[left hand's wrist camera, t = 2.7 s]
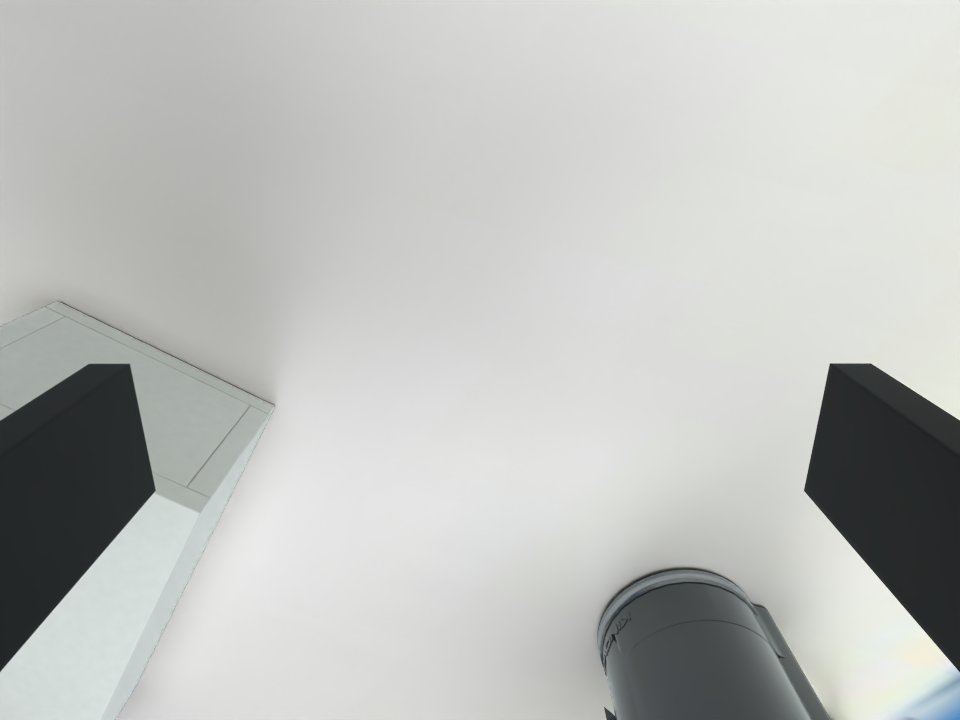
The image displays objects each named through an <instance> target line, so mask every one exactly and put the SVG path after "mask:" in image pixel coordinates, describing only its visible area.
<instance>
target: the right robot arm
mask: <svg viewBox="0 0 960 720" xmlns="http://www.w3.org/2000/svg"><path fill="white" fill-rule="evenodd" d="M598 647H599V652H600V656H601V661H602V664H603V667H604V670H605V674H606V676H607V680H608V684H609V688H610V693H611V697H612V703H613V707H614V712H615V716H616V717H615V716H614V715H613V714H612V713H611V712H610V711H608V710H607V709H606V708H605V707H604V708H605V713H606V718H607V720H831V719H830V718H829V716H828V714H827V713H826V711H825V709H824V707H823V706H822V704H821V702H820V700H819V699H818V697H817V695H816V693H815V692H814V690H813V688H812V687H811V685H810V683H809V681H808V680H807V678H806V676H805V674H804V673H803V671H802V669H801V667H800V666H799V664H798V662H797V661H796V659H795V657H794V655H793V654H792V652H791V650H790V648H789V647H788V645H787V643H786V642H785V640H784V638H783V636H782V635H781V633H780V631H779V629H778V628H777V626H776V624H775V622H774V621H773V619H772V617H771V616H770V614H769V612H768V610H767V609H766V608H763V607H758V606H755V605H753V604H752V603H751V602H750V600H749V599H748V597H747V596H746V595H745V593H744V592H743V591H742V590H741V589H740V588H739V587H737V586H736V585H735V584H734V583H732V582H730V581H729V580H727V579H725V578H723V577H721V576H718V575H715V574H712V573H709V572H704V571H698V570H673V571H667V572H662V573H658V574H655V575H652V576H649V577H646V578H644V579H642V580H640V581H638V582H636V583H634V584H633V585H631V586H629V587H628V588H627V589H625V590H624V591H623V592H621V593H620V594H619V595H618V596H617V597H616V598H615V599H614V600H613V601H612V603H611V604H610V605H609V607H608V608H607V610H606V611H605V613H604V615H603V617H602V619H601V622H600V625H599V630H598Z"/></svg>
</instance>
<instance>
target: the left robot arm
mask: <svg viewBox="0 0 960 720" xmlns="http://www.w3.org/2000/svg"><path fill="white" fill-rule="evenodd" d="M155 491H156V489H155V484H154V479H153V474H152V469H151V464H150V459H149V454H148V450H147V445H146V440H145V435H144V430H143V425H142V420H141V415H140V410H139V405H138V400H137V396H136V391H135V386H134V381H133V376H132V371H131V366H130V364H88V365H86V366H85V367H83V368H82V369H80V370H78V371H77V372H75V373H74V374H72V375H71V376H69V377H68V378H66V379H64V380H63V381H61V382H60V383H58V384H57V385H55V386H53V387H52V388H50V389H49V390H47V391H46V392H44V393H43V394H41V395H39V396H38V397H36V398H35V399H33V400H32V401H30V402H28V403H27V404H25V405H24V406H22V407H21V408H19V409H18V410H16V411H14V412H13V413H11V414H10V415H8V416H7V417H5V418H4V419H2V420H0V672H1V671H2V669H3V668H4V667H5V666H6V665H7V664H8V662H9V661H10V660H11V659H12V658H13V657H14V655H15V654H16V653H17V652H18V651H19V650H20V648H21V647H22V646H23V645H24V644H25V643H26V641H27V640H28V639H29V638H30V637H31V636H32V634H33V633H34V632H35V631H36V630H37V629H38V627H39V626H40V625H41V624H42V623H43V622H44V620H45V619H46V618H47V617H48V616H49V615H50V613H51V612H52V611H53V610H54V609H55V608H56V606H57V605H58V604H59V603H60V602H61V601H62V599H63V598H64V597H65V596H66V595H67V594H68V592H69V591H70V590H71V589H72V588H73V587H74V586H75V584H76V583H77V582H78V581H79V580H80V579H81V577H82V576H83V575H84V574H85V573H86V572H87V570H88V569H89V568H90V567H91V566H92V565H93V563H94V562H95V561H96V560H97V559H98V558H99V556H100V555H101V554H102V553H103V552H104V551H105V549H106V548H107V547H108V546H109V545H110V544H111V542H112V541H113V540H114V539H115V538H116V537H117V535H118V534H119V533H120V532H121V531H122V530H123V528H124V527H125V526H126V525H127V524H128V523H129V521H130V520H131V519H132V518H133V517H134V516H135V514H136V513H137V512H138V511H139V510H140V509H141V507H142V506H143V505H144V504H145V503H146V502H147V500H148V499H149V498H150V497H151V496H152V495H153V493H154V492H155ZM804 491H805V492H806V493H807V495H808V496H809V497H810V498H811V499H812V500H813V502H814V503H815V504H816V505H817V506H818V507H819V509H820V510H821V511H822V512H823V513H824V514H825V516H826V517H827V518H828V519H829V520H830V521H831V523H832V524H833V525H834V526H835V527H836V528H837V530H838V531H839V532H840V533H841V534H842V535H843V537H844V538H845V539H846V540H847V541H848V542H849V544H850V545H851V546H852V547H853V548H854V549H855V551H856V552H857V553H858V554H859V555H860V556H861V558H862V559H863V560H864V561H865V562H866V563H867V565H868V566H869V567H870V568H871V569H872V570H873V572H874V573H875V574H876V575H877V576H878V577H879V579H880V580H881V581H882V582H883V583H884V584H885V586H886V587H887V588H888V589H889V590H890V591H891V592H892V594H893V595H894V596H895V597H896V598H897V599H898V601H899V602H900V603H901V604H902V605H903V606H904V608H905V609H906V610H907V611H908V612H909V613H910V615H911V616H912V617H913V618H914V619H915V620H916V622H917V623H918V624H919V625H920V626H921V627H922V629H923V630H924V631H925V632H926V633H927V634H928V636H929V637H930V638H931V639H932V640H933V641H934V643H935V644H936V645H937V646H938V647H939V648H940V650H941V651H942V652H943V653H944V654H945V655H946V657H947V658H948V659H949V660H950V661H951V662H952V664H953V665H954V666H955V667H956V668H957V669H958V671H959V672H960V420H958V419H956V418H955V417H953V416H952V415H950V414H949V413H947V412H946V411H944V410H942V409H941V408H939V407H938V406H936V405H935V404H933V403H932V402H930V401H928V400H927V399H925V398H924V397H922V396H921V395H919V394H917V393H916V392H914V391H913V390H911V389H910V388H908V387H907V386H905V385H903V384H902V383H900V382H899V381H897V380H896V379H894V378H892V377H891V376H889V375H888V374H886V373H885V372H883V371H882V370H880V369H878V368H877V367H875V366H874V365H872V364H830V366H829V371H828V376H827V381H826V386H825V391H824V396H823V400H822V405H821V410H820V415H819V420H818V425H817V430H816V435H815V440H814V445H813V450H812V454H811V459H810V464H809V469H808V474H807V479H806V484H805V489H804Z"/></svg>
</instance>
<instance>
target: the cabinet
mask: <svg viewBox="0 0 960 720" xmlns="http://www.w3.org/2000/svg"><path fill="white" fill-rule="evenodd" d="M88 364H130V366H131V371H132V376H133V381H134V386H135V391H136V396H137V400H138V405H139V410H140V415H141V420H142V425H143V430H144V435H145V440H146V445H147V450H148V454H149V459H150V464H151V469H152V474H153V479H154V484H155V489H156V491H155V492H154V493H153V495H152V496H151V497H150V498H149V499H148V500H147V502H146V503H145V504H144V505H143V506H142V507H141V509H140V510H139V511H138V512H137V513H136V514H135V516H134V517H133V518H132V519H131V520H130V521H129V523H128V524H127V525H126V526H125V527H124V528H123V530H122V531H121V532H120V533H119V534H118V535H117V537H116V538H115V539H114V540H113V541H112V542H111V544H110V545H109V546H108V547H107V548H106V549H105V551H104V552H103V553H102V554H101V555H100V556H99V558H98V559H97V560H96V561H95V562H94V563H93V565H92V566H91V567H90V568H89V569H88V570H87V572H86V573H85V574H84V575H83V576H82V577H81V579H80V580H79V581H78V582H77V583H76V584H75V586H74V587H73V588H72V589H71V590H70V591H69V592H68V594H67V595H66V596H65V597H64V598H63V599H62V601H61V602H60V603H59V604H58V605H57V606H56V608H55V609H54V610H53V611H52V612H51V613H50V615H49V616H48V617H47V618H46V619H45V620H44V622H43V623H42V624H41V625H40V626H39V627H38V629H37V630H36V631H35V632H34V633H33V634H32V636H31V637H30V638H29V639H28V640H27V641H26V643H25V644H24V645H23V646H22V647H21V648H20V650H19V651H18V652H17V653H16V654H15V655H14V657H13V658H12V659H11V660H10V661H9V662H8V664H7V665H6V666H5V667H4V668H3V669H2V671H1V672H0V720H116V718H117V716H118V715H119V713H120V711H121V710H122V708H123V706H124V705H125V703H126V701H127V700H128V698H129V696H130V695H131V693H132V691H133V690H134V688H135V686H136V685H137V683H138V681H139V679H140V677H141V675H142V673H143V671H144V669H145V667H146V665H147V663H148V661H149V659H150V657H151V655H152V653H153V651H154V649H155V647H156V645H157V643H158V641H159V639H160V637H161V635H162V633H163V631H164V629H165V627H166V625H167V623H168V621H169V619H170V617H171V615H172V613H173V611H174V609H175V607H176V605H177V603H178V601H179V599H180V597H181V595H182V593H183V591H184V589H185V587H186V585H187V583H188V581H189V579H190V577H191V575H192V573H193V571H194V569H195V567H196V565H197V563H198V561H199V559H200V557H201V555H202V553H203V551H204V549H205V547H206V545H207V542H208V540H209V538H210V536H211V534H212V532H213V530H214V528H215V526H216V524H217V522H218V520H219V518H220V516H221V514H222V512H223V510H224V508H225V506H226V504H227V502H228V500H229V498H230V496H231V494H232V492H233V490H234V488H235V486H236V484H237V482H238V480H239V478H240V476H241V474H242V472H243V470H244V468H245V466H246V464H247V462H248V460H249V458H250V456H251V454H252V452H253V450H254V448H255V446H256V444H257V442H258V440H259V438H260V436H261V434H262V432H263V430H264V428H265V426H266V424H267V422H268V420H269V418H270V416H271V414H272V412H273V410H274V408H275V406H274V405H272V404H270V403H268V402H266V401H263V400H261V399H259V398H257V397H255V396H253V395H251V394H249V393H247V392H245V391H243V390H241V389H239V388H237V387H234V386H232V385H230V384H228V383H226V382H224V381H222V380H220V379H218V378H216V377H214V376H212V375H210V374H208V373H205V372H203V371H201V370H199V369H197V368H195V367H193V366H191V365H189V364H187V363H185V362H183V361H181V360H179V359H176V358H174V357H172V356H170V355H168V354H166V353H164V352H162V351H160V350H158V349H156V348H154V347H152V346H150V345H148V344H145V343H143V342H141V341H139V340H137V339H135V338H133V337H131V336H129V335H127V334H125V333H123V332H121V331H119V330H116V329H114V328H112V327H110V326H108V325H106V324H104V323H102V322H100V321H98V320H96V319H94V318H92V317H90V316H87V315H85V314H83V313H81V312H79V311H77V310H75V309H73V308H71V307H69V306H67V305H65V304H63V303H61V302H58V301H56V302H54V303H52V304H49V305H47V306H45V307H42V308H40V309H38V310H35V311H33V312H31V313H29V314H26V315H24V316H22V317H20V318H18V319H15V320H13V321H11V322H9V323H6V324H4V325H2V326H0V420H2V419H4V418H5V417H7V416H8V415H10V414H11V413H13V412H14V411H16V410H18V409H19V408H21V407H22V406H24V405H25V404H27V403H28V402H30V401H32V400H33V399H35V398H36V397H38V396H39V395H41V394H43V393H44V392H46V391H47V390H49V389H50V388H52V387H53V386H55V385H57V384H58V383H60V382H61V381H63V380H64V379H66V378H68V377H69V376H71V375H72V374H74V373H75V372H77V371H78V370H80V369H82V368H83V367H85V366H86V365H88Z"/></svg>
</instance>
